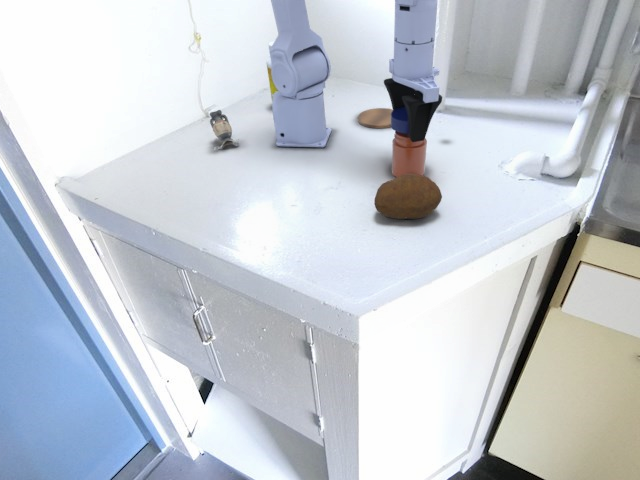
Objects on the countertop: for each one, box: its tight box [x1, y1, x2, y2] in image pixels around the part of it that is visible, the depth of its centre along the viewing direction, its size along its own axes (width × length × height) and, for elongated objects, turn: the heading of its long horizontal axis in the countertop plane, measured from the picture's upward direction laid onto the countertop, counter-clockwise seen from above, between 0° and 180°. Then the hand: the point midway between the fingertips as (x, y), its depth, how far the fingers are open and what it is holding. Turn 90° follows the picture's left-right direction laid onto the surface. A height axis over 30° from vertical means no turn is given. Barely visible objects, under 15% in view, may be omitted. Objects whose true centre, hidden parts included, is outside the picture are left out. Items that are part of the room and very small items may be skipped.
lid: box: [390, 107, 409, 134], centre depth 74 cm, size 6×6×2 cm
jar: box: [391, 130, 428, 178], centre depth 78 cm, size 6×6×7 cm
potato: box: [373, 174, 443, 220], centre depth 68 cm, size 7×10×6 cm
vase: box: [209, 109, 241, 152], centre depth 89 cm, size 5×5×6 cm
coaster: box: [357, 107, 393, 129], centre depth 96 cm, size 9×9×1 cm
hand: (409, 132), depth 75 cm, fingers closed on lid, 6 cm apart
